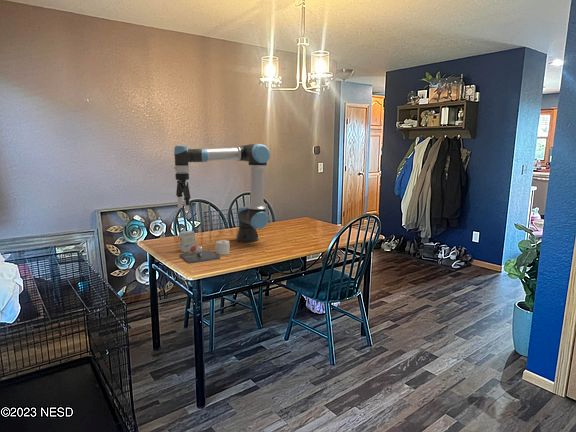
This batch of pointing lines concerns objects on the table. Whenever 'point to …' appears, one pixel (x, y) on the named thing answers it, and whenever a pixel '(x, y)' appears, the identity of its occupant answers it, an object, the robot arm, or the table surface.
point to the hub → (199, 256)
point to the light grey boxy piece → (222, 247)
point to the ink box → (187, 241)
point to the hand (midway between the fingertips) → (183, 209)
